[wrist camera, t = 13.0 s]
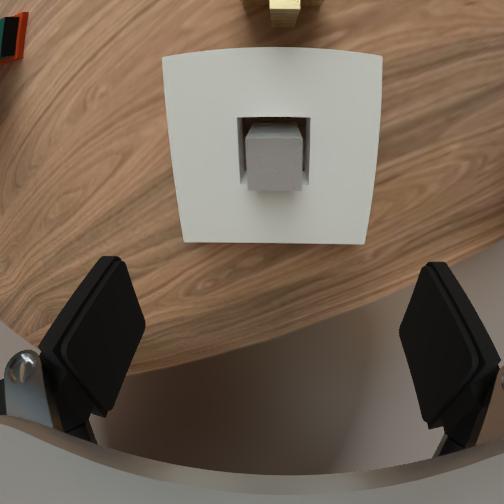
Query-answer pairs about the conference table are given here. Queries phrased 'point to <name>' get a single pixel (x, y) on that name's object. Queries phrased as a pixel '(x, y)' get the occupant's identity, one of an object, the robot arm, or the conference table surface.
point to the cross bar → (283, 10)
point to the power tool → (12, 37)
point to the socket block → (273, 105)
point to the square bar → (274, 157)
